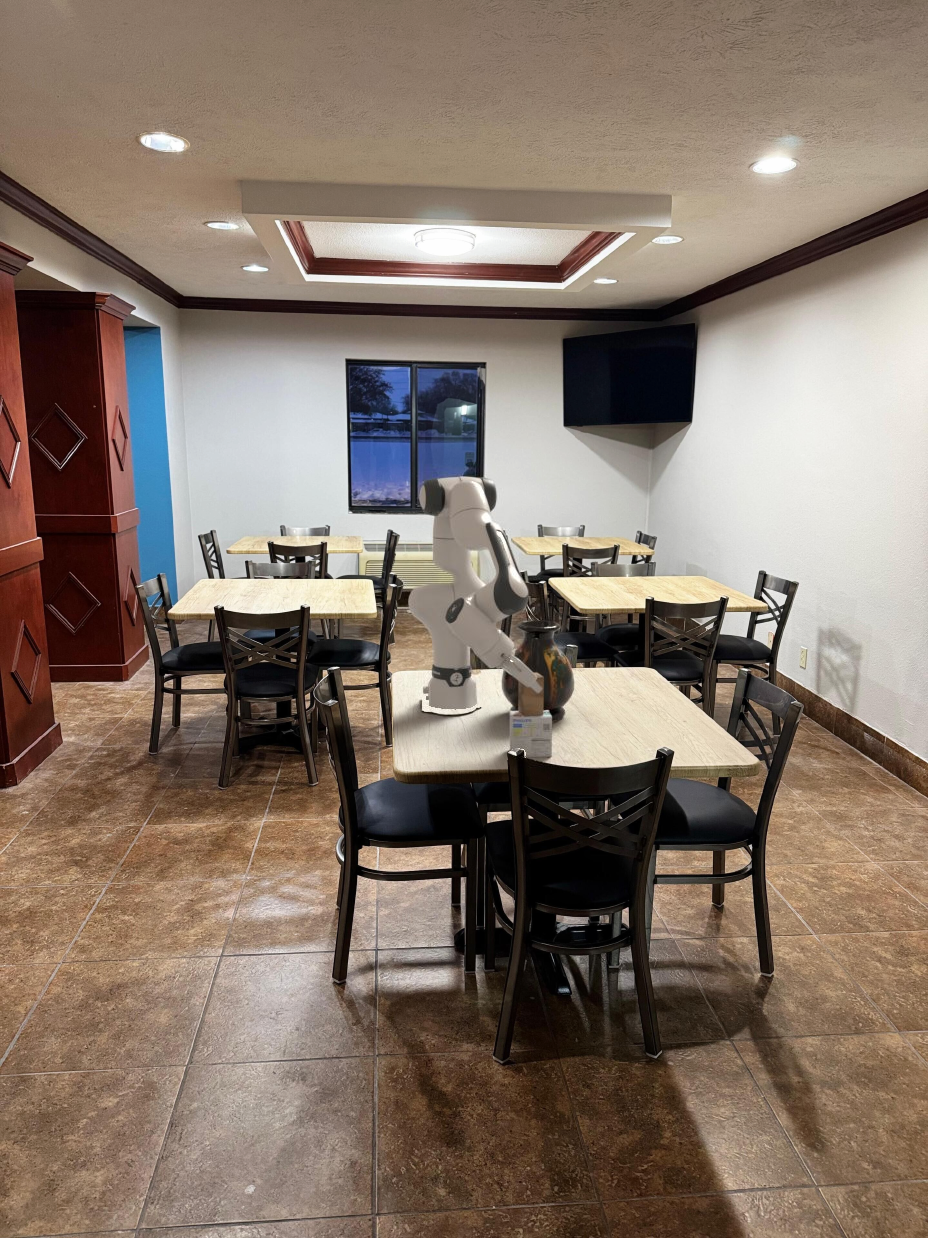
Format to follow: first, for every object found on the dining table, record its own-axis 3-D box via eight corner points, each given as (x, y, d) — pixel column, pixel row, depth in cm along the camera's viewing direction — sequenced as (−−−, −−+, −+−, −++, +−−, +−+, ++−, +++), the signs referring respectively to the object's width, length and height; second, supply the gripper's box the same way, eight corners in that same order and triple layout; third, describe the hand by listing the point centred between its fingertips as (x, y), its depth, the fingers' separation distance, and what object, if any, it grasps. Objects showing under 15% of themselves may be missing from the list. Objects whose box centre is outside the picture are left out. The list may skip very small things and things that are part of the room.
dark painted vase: (570, 729, 239) (572, 631, 234) (495, 724, 243) (496, 629, 238) (576, 708, 260) (578, 618, 255) (507, 704, 264) (507, 616, 259)
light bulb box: (548, 748, 222) (549, 709, 220) (552, 757, 216) (553, 716, 214) (508, 749, 222) (508, 709, 220) (510, 758, 215) (511, 717, 213)
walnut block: (518, 711, 219) (518, 673, 217) (536, 709, 220) (537, 672, 218) (524, 716, 214) (525, 678, 212) (543, 715, 215) (543, 677, 214)
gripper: (518, 650, 202) (556, 687, 206) (493, 634, 221) (528, 668, 226) (500, 669, 202) (538, 705, 206) (477, 651, 221) (512, 685, 225)
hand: (533, 686), depth 216 cm, fingers open, 8 cm apart
